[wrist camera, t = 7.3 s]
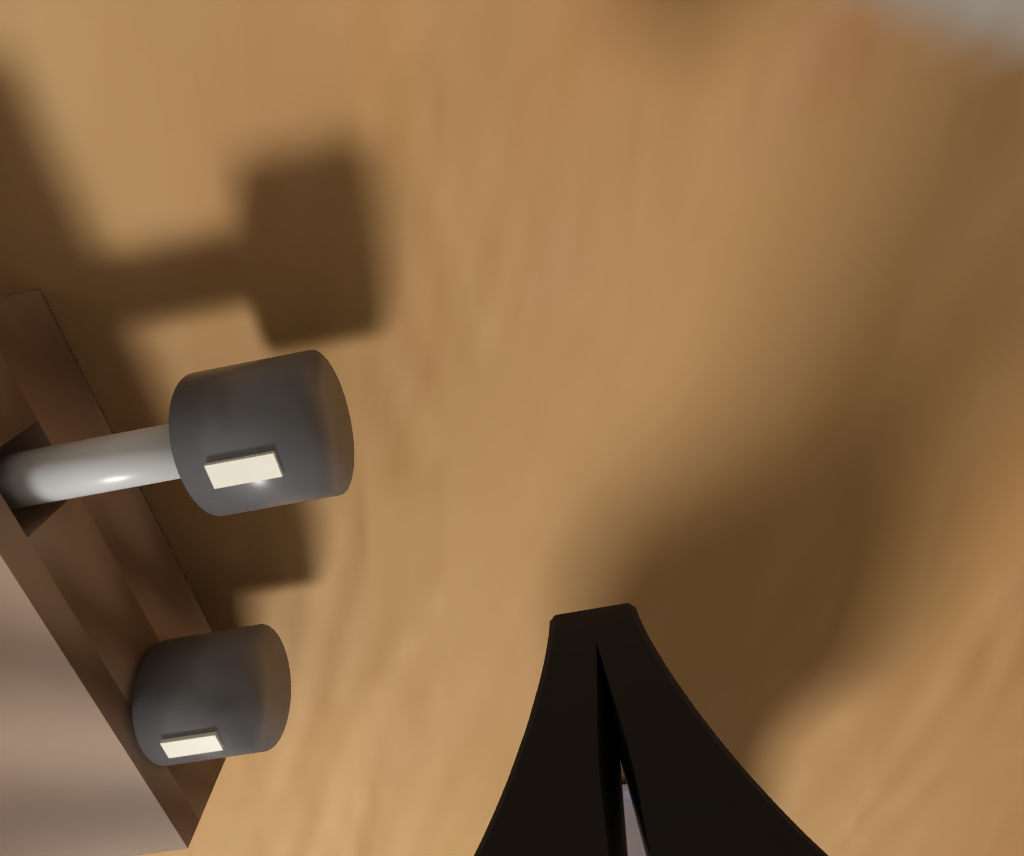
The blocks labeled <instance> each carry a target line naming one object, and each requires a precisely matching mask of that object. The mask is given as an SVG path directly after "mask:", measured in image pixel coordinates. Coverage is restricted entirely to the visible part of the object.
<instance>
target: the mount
mask: <svg viewBox="0 0 1024 856" xmlns="http://www.w3.org/2000/svg"><path fill="white" fill-rule="evenodd" d="M111 434H112V432H111V430H110V428H109V426H108V424H107V422H106V420H105V418H104V416H103V414H102V412H101V410H100V408H99V406H98V404H97V402H96V400H95V398H94V396H93V394H92V392H91V390H90V388H89V386H88V384H87V382H86V380H85V378H84V376H83V374H82V373H81V371H80V369H79V367H78V365H77V363H76V361H75V359H74V357H73V355H72V353H71V351H70V349H69V347H68V345H67V343H66V341H65V339H64V337H63V335H62V333H61V331H60V329H59V327H58V325H57V323H56V321H55V319H54V317H53V315H52V313H51V311H50V309H49V307H48V305H47V303H46V301H45V299H44V297H43V295H42V293H41V291H40V289H38V290H34V291H29V292H24V293H19V294H15V295H10V296H5V297H0V455H5V454H10V453H16V452H21V451H26V450H32V449H37V448H42V447H47V446H53V445H58V444H63V443H68V442H74V441H79V440H84V439H90V438H95V437H100V436H105V435H111ZM210 632H212V630H211V628H210V626H209V624H208V622H207V620H206V618H205V616H204V614H203V612H202V610H201V608H200V606H199V604H198V602H197V600H196V598H195V596H194V594H193V592H192V590H191V588H190V587H189V585H188V583H187V581H186V579H185V577H184V575H183V573H182V571H181V569H180V567H179V565H178V563H177V561H176V559H175V557H174V555H173V553H172V551H171V549H170V547H169V545H168V543H167V541H166V539H165V537H164V535H163V533H162V531H161V529H160V527H159V525H158V523H157V521H156V519H155V517H154V515H153V513H152V511H151V509H150V507H149V505H148V503H147V501H146V499H145V497H144V495H143V493H142V491H141V489H140V487H139V486H137V487H131V488H126V489H120V490H115V491H109V492H104V493H98V494H93V495H87V496H82V497H77V498H71V499H66V500H60V501H55V502H49V503H44V504H38V505H33V506H27V507H22V508H16V509H11V510H10V508H9V507H8V505H7V503H6V502H5V500H4V499H3V497H2V495H1V494H0V856H136V855H143V854H151V853H158V852H165V851H172V850H180V849H187V848H188V847H189V844H190V842H191V839H192V837H193V835H194V832H195V830H196V828H197V825H198V823H199V820H200V818H201V816H202V813H203V811H204V809H205V806H206V804H207V801H208V799H209V797H210V794H211V792H212V790H213V787H214V785H215V782H216V780H217V778H218V775H219V773H220V771H221V768H222V766H223V763H224V761H225V759H226V757H223V758H217V759H210V760H203V761H196V762H190V763H183V764H176V765H170V766H160V765H157V764H155V763H153V762H151V761H150V760H149V759H148V758H147V757H146V756H145V754H144V753H143V752H142V750H141V748H140V746H139V744H138V741H137V739H136V735H135V731H134V726H133V719H132V708H131V707H130V703H131V701H132V697H133V690H134V685H135V680H136V677H137V674H138V671H139V668H140V666H141V664H142V662H143V660H144V658H145V657H146V655H147V654H148V652H149V651H150V650H151V649H152V648H153V647H154V646H155V645H156V644H158V643H159V642H161V641H164V640H167V639H173V638H179V637H185V636H191V635H198V634H204V633H210Z"/></svg>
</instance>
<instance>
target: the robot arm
mask: <svg viewBox="0 0 1024 856" xmlns="http://www.w3.org/2000/svg"><path fill="white" fill-rule="evenodd" d="M620 760H621V764H622V768H623V771H624V775H625V779H626V783H627V784H623V785H622V776H621V765H620ZM474 856H828V855H827V854H826V853H825V852H824V851H823V850H822V849H821V848H820V847H818V846H817V845H816V844H815V843H814V842H813V841H812V840H811V839H810V838H809V837H808V836H807V835H806V834H805V833H804V832H803V831H802V830H801V829H800V828H799V827H798V826H797V825H796V824H795V823H794V822H793V821H792V820H791V819H790V818H789V817H788V816H787V815H786V814H785V813H784V812H783V811H782V810H781V809H780V808H779V807H778V806H777V805H776V803H775V802H774V801H773V800H772V799H771V798H770V797H769V796H768V795H767V794H766V793H765V792H764V791H763V789H762V788H761V787H760V786H759V785H758V784H757V783H756V782H755V781H754V780H753V778H752V777H751V776H750V775H749V774H748V773H747V772H746V771H745V769H744V768H743V767H742V766H741V765H740V764H739V762H738V761H737V760H736V759H735V758H734V757H733V755H732V754H731V753H730V752H729V751H728V749H727V748H726V747H725V746H724V744H723V743H722V742H721V741H720V739H719V738H718V737H717V736H716V734H715V733H714V732H713V731H712V729H711V728H710V727H709V726H708V724H707V723H706V722H705V720H704V719H703V718H702V716H701V715H700V714H699V713H698V711H697V710H696V709H695V707H694V706H693V704H692V703H691V702H690V700H689V699H688V697H687V696H686V694H685V693H684V692H683V690H682V689H681V687H680V686H679V684H678V683H677V682H676V680H675V679H674V677H673V676H672V674H671V673H670V671H669V670H668V668H667V667H666V665H665V663H664V662H663V660H662V659H661V657H660V655H659V654H658V652H657V650H656V649H655V647H654V645H653V643H652V642H651V640H650V638H649V636H648V634H647V632H646V630H645V628H644V626H643V624H642V622H641V620H640V618H639V615H638V613H637V610H636V607H634V606H632V605H631V604H629V603H625V604H619V605H613V606H607V607H601V608H595V609H589V610H583V611H577V612H571V613H565V614H559V615H555V616H554V617H553V619H552V620H551V621H550V627H549V637H548V644H547V650H546V655H545V660H544V665H543V669H542V674H541V678H540V682H539V686H538V689H537V693H536V696H535V700H534V704H533V707H532V711H531V714H530V718H529V721H528V724H527V727H526V730H525V733H524V736H523V739H522V742H521V745H520V747H519V750H518V753H517V756H516V759H515V762H514V764H513V767H512V770H511V773H510V775H509V778H508V781H507V783H506V786H505V788H504V790H503V793H502V795H501V798H500V800H499V803H498V805H497V807H496V810H495V812H494V814H493V816H492V819H491V821H490V823H489V825H488V828H487V830H486V832H485V834H484V836H483V838H482V841H481V843H480V845H479V847H478V849H477V851H476V853H475V855H474Z"/></svg>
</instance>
